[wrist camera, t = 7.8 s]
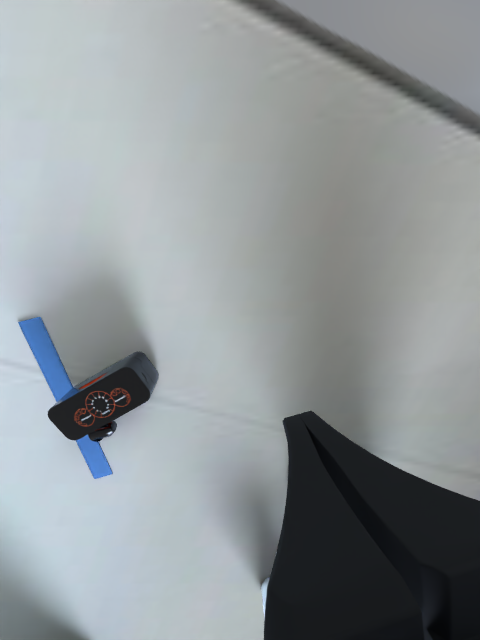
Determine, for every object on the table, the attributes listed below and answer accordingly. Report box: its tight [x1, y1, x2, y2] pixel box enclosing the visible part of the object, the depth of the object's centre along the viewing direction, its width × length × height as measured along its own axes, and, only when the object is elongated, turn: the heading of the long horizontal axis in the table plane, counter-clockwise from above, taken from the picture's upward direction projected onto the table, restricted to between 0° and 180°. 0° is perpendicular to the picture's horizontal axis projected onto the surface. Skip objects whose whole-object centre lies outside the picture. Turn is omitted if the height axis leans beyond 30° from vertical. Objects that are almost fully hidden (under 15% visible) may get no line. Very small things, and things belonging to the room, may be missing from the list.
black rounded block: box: [48, 352, 159, 442], centre depth 18 cm, size 5×7×3 cm, turn 119°
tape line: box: [18, 317, 112, 479], centre depth 20 cm, size 14×2×1 cm, turn 13°
